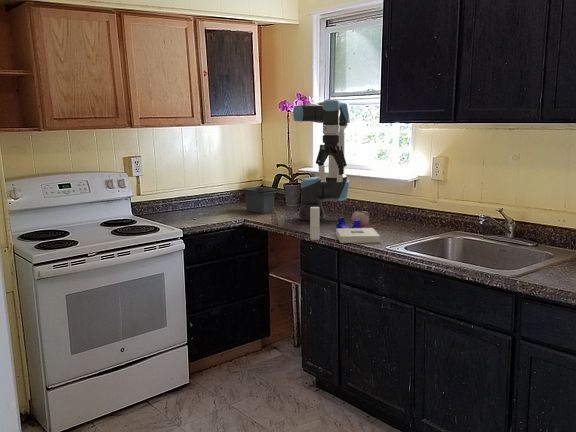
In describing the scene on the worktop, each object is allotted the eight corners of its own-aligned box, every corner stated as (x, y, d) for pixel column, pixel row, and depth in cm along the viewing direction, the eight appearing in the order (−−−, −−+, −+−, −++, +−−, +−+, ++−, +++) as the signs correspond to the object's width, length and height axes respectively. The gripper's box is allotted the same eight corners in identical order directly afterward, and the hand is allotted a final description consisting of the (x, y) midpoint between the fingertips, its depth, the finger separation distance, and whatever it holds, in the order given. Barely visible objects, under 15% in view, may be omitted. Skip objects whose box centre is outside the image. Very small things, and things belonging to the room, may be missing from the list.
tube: (317, 240, 258) (317, 208, 255) (308, 239, 260) (308, 207, 257) (320, 238, 262) (320, 207, 259) (312, 237, 264) (312, 206, 261)
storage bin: (240, 211, 339) (239, 187, 336) (260, 208, 349) (259, 185, 346) (261, 215, 323) (261, 191, 320) (282, 212, 333) (281, 188, 330)
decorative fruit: (370, 227, 287) (370, 208, 285) (368, 230, 279) (368, 210, 277) (352, 226, 289) (352, 207, 287) (349, 229, 281) (350, 210, 279)
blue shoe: (336, 229, 282) (336, 218, 281) (341, 228, 285) (342, 217, 284) (354, 233, 273) (354, 221, 272) (360, 231, 277) (360, 220, 275)
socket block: (336, 234, 270) (336, 228, 269) (372, 234, 270) (372, 227, 270) (340, 242, 252) (340, 236, 252) (379, 242, 253) (379, 235, 252)
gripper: (308, 134, 262) (308, 178, 265) (341, 135, 241) (341, 183, 245) (321, 133, 266) (321, 177, 269) (354, 134, 245) (354, 182, 249)
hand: (330, 180), depth 257 cm, fingers open, 13 cm apart
